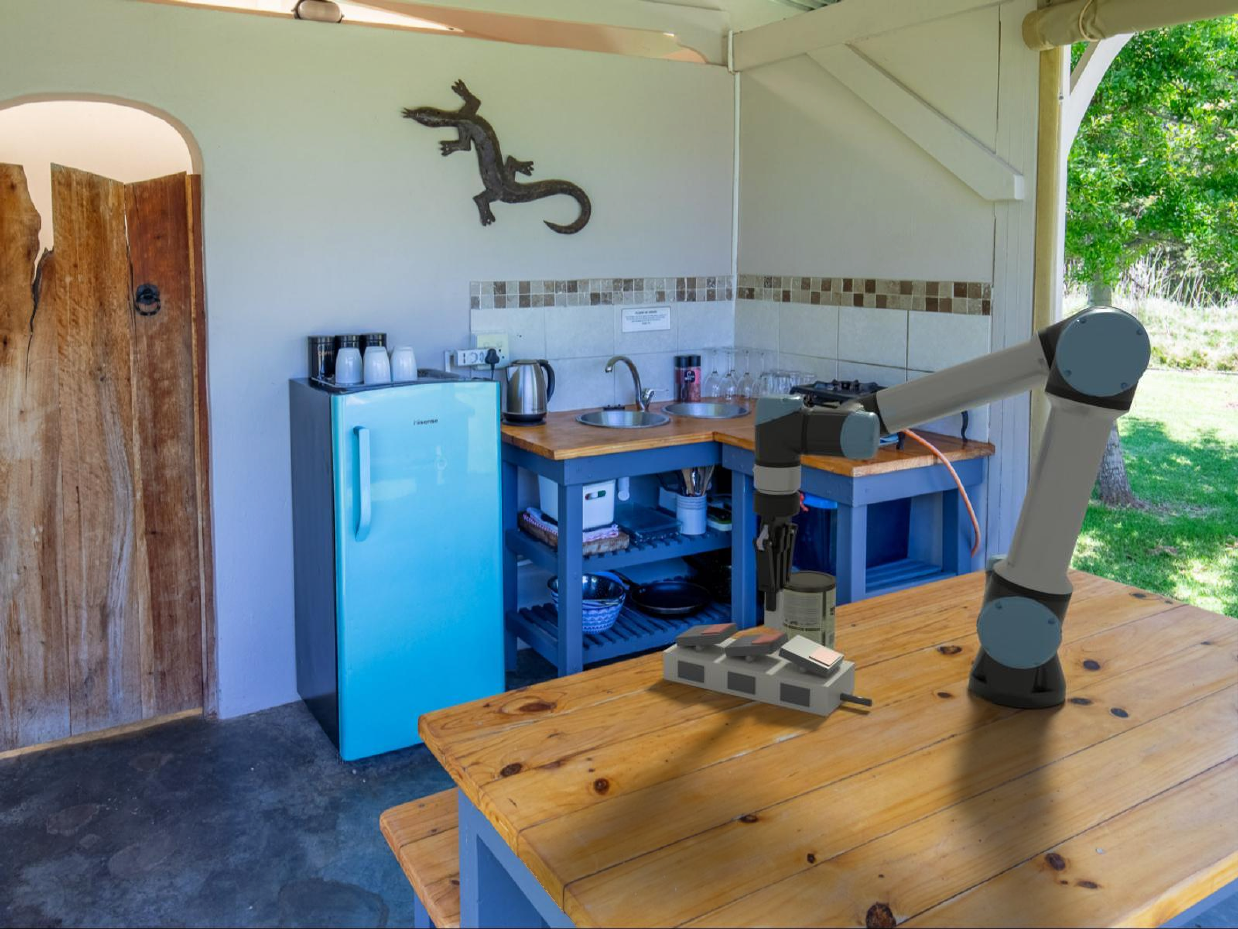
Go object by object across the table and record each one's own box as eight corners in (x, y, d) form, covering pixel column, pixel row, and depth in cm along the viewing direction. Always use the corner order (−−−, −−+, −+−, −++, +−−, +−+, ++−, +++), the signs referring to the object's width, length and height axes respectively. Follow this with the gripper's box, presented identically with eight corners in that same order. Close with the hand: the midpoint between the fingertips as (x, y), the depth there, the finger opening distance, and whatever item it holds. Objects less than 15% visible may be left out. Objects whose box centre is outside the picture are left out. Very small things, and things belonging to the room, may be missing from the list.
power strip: (883, 697, 174) (884, 660, 173) (857, 724, 164) (858, 685, 163) (696, 657, 193) (696, 624, 191) (662, 679, 182) (662, 644, 181)
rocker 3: (841, 663, 174) (844, 654, 174) (825, 677, 168) (828, 667, 168) (795, 642, 178) (798, 633, 178) (778, 655, 172) (781, 646, 172)
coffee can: (776, 641, 200) (778, 569, 198) (831, 642, 199) (833, 570, 197) (779, 661, 190) (781, 586, 188) (837, 662, 189) (839, 587, 187)
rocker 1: (738, 631, 184) (736, 621, 184) (719, 644, 178) (717, 633, 178) (696, 634, 189) (694, 624, 189) (677, 646, 183) (675, 636, 183)
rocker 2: (788, 641, 179) (786, 631, 179) (771, 654, 173) (769, 643, 173) (744, 644, 184) (742, 634, 184) (726, 656, 178) (724, 646, 178)
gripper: (772, 480, 179) (769, 613, 183) (738, 494, 168) (735, 635, 173) (813, 484, 175) (809, 620, 179) (781, 499, 164) (778, 643, 169)
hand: (773, 627), depth 176 cm, fingers closed
